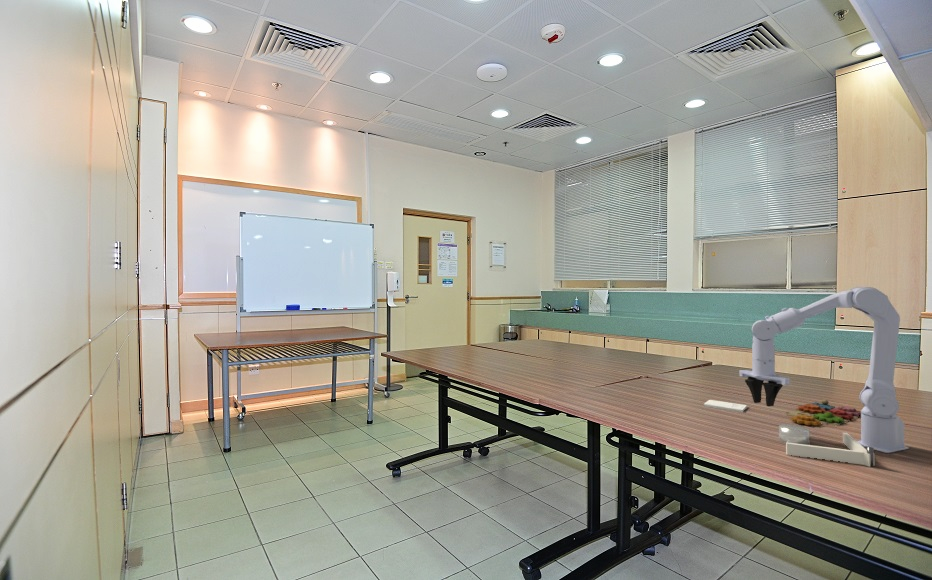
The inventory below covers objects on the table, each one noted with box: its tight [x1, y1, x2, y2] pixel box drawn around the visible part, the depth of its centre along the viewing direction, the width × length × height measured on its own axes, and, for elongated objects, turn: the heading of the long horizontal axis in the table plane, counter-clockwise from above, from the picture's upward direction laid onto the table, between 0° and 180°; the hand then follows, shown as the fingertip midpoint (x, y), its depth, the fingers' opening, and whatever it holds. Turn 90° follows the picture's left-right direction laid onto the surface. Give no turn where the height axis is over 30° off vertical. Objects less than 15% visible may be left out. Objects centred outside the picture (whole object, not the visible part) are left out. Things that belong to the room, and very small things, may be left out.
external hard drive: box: [703, 399, 748, 413], centre depth 163 cm, size 2×8×12 cm
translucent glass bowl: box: [778, 423, 811, 445], centre depth 127 cm, size 7×7×4 cm
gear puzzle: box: [785, 398, 861, 427], centre depth 150 cm, size 31×16×4 cm, turn 121°
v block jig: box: [785, 432, 875, 468], centre depth 115 cm, size 24×13×4 cm, turn 109°
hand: (763, 404), depth 135 cm, fingers open, 3 cm apart
